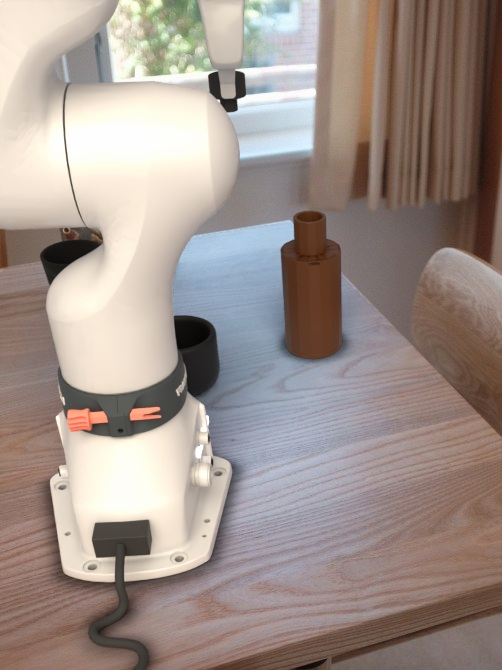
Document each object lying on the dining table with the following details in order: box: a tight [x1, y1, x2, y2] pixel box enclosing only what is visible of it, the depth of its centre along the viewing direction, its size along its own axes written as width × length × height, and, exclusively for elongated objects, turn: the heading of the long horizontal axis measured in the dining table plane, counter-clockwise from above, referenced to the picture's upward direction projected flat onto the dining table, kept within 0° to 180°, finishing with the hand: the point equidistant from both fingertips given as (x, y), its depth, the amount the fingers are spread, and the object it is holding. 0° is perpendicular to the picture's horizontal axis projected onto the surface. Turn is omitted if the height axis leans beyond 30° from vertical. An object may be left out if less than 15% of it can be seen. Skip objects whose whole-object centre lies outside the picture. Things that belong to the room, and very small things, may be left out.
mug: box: [174, 314, 221, 397], centre depth 107 cm, size 12×9×7 cm
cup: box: [39, 239, 100, 287], centre depth 115 cm, size 8×8×12 cm
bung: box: [207, 70, 247, 114], centre depth 115 cm, size 5×5×4 cm
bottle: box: [279, 210, 343, 360], centre depth 112 cm, size 7×7×17 cm
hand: (227, 90), depth 115 cm, fingers closed on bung, 4 cm apart
